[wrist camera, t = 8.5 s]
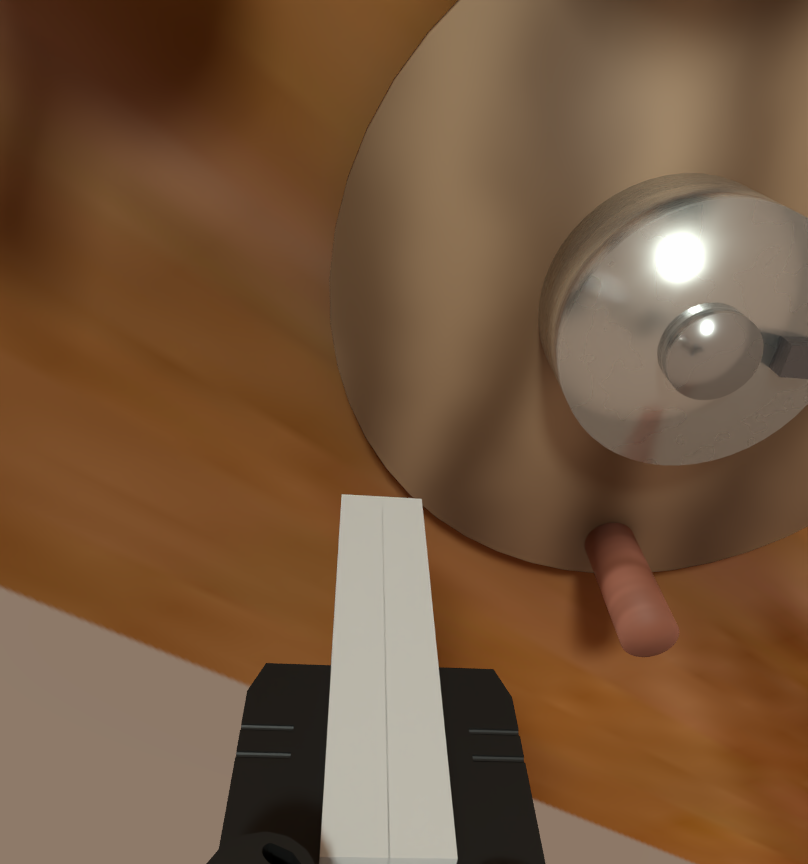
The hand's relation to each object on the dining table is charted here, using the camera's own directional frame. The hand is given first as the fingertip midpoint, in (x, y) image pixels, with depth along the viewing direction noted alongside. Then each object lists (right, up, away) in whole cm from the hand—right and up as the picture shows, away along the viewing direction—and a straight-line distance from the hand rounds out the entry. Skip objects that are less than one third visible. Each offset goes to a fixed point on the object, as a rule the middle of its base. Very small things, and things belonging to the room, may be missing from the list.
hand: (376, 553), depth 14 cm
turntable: (+12, +8, +16) cm, 22 cm away
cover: (+11, +7, +14) cm, 19 cm away
